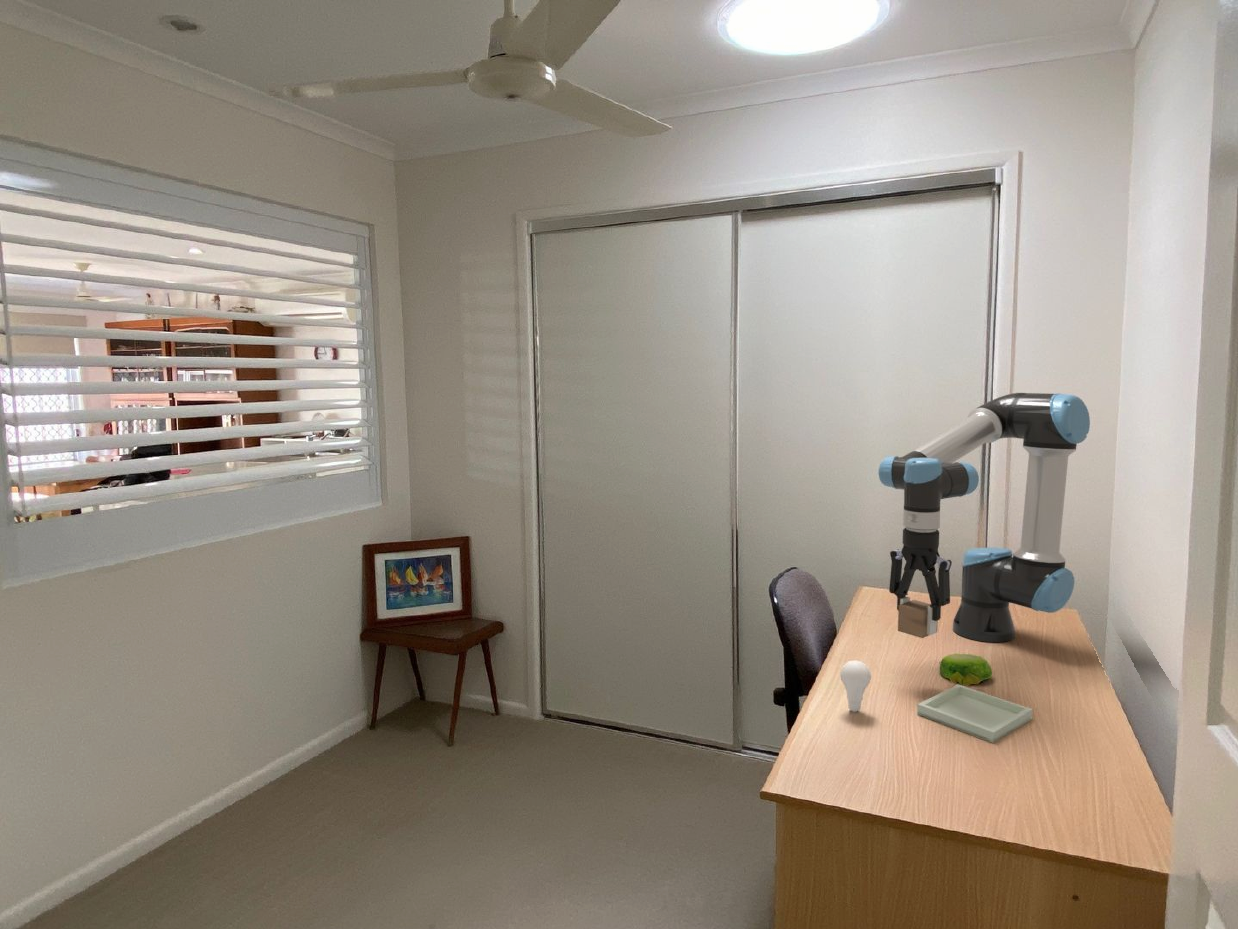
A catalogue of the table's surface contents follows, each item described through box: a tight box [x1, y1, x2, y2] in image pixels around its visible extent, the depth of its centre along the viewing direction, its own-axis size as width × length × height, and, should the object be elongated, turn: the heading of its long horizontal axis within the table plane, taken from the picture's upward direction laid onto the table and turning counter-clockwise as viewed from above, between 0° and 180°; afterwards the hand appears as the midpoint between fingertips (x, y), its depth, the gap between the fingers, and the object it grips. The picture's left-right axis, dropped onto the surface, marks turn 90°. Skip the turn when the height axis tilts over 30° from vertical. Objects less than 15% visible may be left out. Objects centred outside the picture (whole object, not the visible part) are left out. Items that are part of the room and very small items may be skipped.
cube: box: [897, 599, 939, 639], centre depth 174 cm, size 6×6×6 cm
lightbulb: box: [839, 660, 872, 713], centre depth 163 cm, size 6×6×11 cm
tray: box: [916, 683, 1034, 744], centre depth 161 cm, size 16×16×2 cm
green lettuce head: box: [939, 653, 993, 687], centre depth 182 cm, size 12×11×5 cm
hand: (917, 629), depth 174 cm, fingers closed on cube, 6 cm apart
